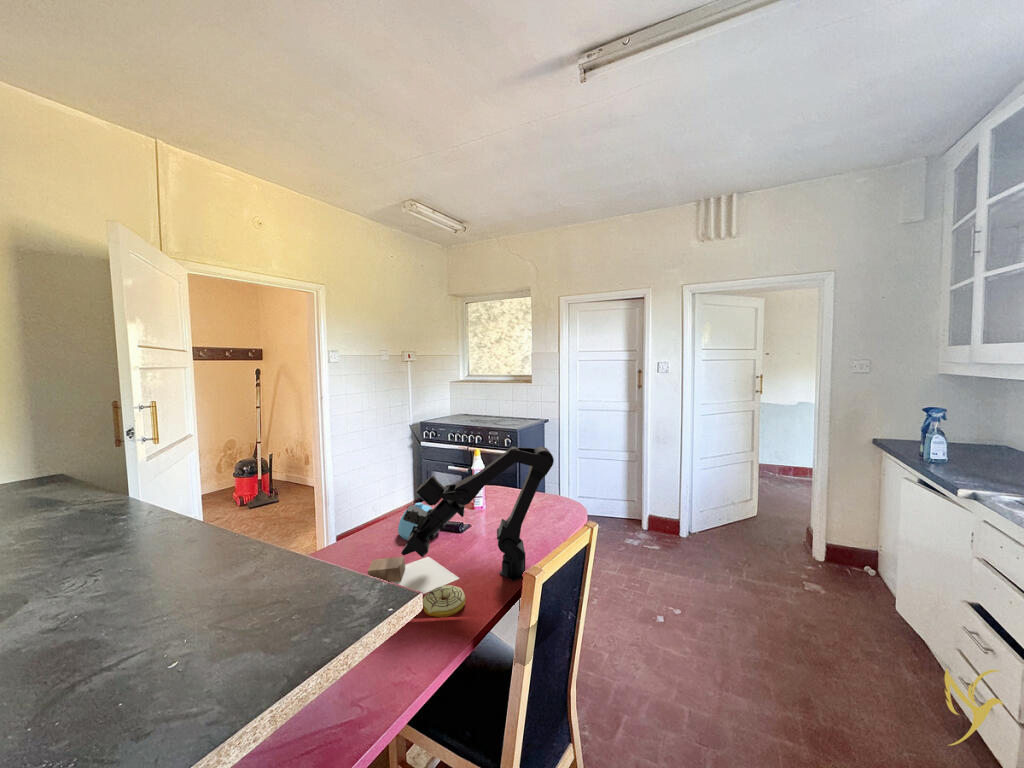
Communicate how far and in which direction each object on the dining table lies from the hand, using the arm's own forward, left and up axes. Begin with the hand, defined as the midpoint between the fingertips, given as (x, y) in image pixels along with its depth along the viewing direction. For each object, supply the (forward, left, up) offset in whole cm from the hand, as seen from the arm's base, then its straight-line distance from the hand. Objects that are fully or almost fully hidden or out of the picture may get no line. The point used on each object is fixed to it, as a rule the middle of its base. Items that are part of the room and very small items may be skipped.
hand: (402, 553), depth 117 cm
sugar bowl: (-19, -25, -8) cm, 32 cm away
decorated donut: (-1, +20, -8) cm, 22 cm away
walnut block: (0, 0, -4) cm, 4 cm away
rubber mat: (-4, +3, -7) cm, 9 cm away
